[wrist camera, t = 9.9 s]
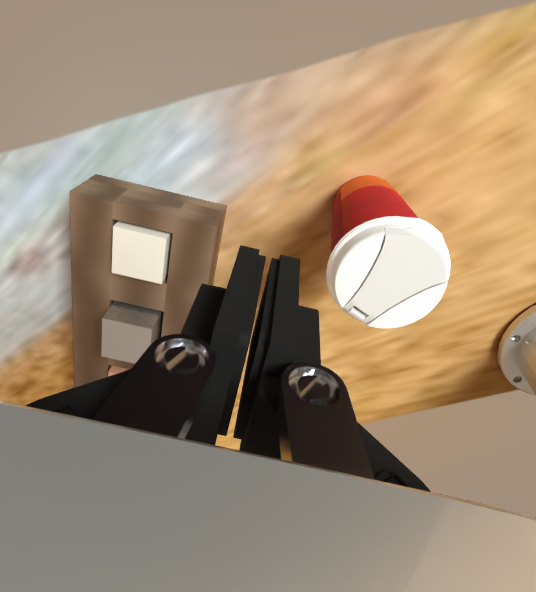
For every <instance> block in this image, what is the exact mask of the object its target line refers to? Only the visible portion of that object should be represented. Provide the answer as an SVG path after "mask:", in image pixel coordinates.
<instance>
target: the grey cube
mask: <svg viewBox="0 0 536 592" xmlns="http://www.w3.org/2000/svg"><path fill="white" fill-rule="evenodd" d="M163 315H164V312H163V311H159V310H154V309H150V308H145V307H141V306H136V305H132V304H128V303H123V302H119V301H114V303H113V304H112V305H111V307H110V308H109V309H108V311H107V312H106V314H105V315H104V316H103V318H102V351H101V356H102V357H107V358H111V359H116V360H120V361H125V362H129V363H134V364H135V363H136V362H137V361H138V360H139V358H140V357H141V356H142V354H143V353H144V352H145V351H146V349H147V348H148V347H149V346H150V345H151V344H152V343H153V342H154V341H155V340H156V339H159V338H161V333H162V324H163Z"/></svg>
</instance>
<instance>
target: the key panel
mask: <svg viewBox="0 0 536 592" xmlns="http://www.w3.org/2000/svg"><path fill="white" fill-rule="evenodd" d="M226 208H227V206H226V205H222V204H218V203H213V202H209V201H205V200H201V199H197V198H193V197H188V196H184V195H180V194H176V193H172V192H168V191H163V190H159V189H155V188H151V187H147V186H143V185H138V184H134V183H130V182H126V181H122V180H118V179H113V178H109V177H105V176H101V175H97V174H96V175H94V176H93V177H91V178H89V179H88V180H86V181H85V182H83V183H82V184H80V185H79V186H77V187H76V188H74V189H73V190H71V191H70V230H71V270H72V311H73V351H74V388H75V387H78V386H81V385H84V384H87V383H90V382H93V381H96V380H99V379H102V378H105V377H108V372H109V370H110V368H111V366H117V367H121V368H126V369H131V368H132V367H133V366H134V365H135V364H134V363H129V362H125V361H120V360H116V359H111V358H107V357H102V356H101V351H102V318H103V316H104V315H105V314H106V312H107V311H108V309H109V308H110V307H111V305H112V304H113V303H114V301H119V302H123V303H128V304H132V305H136V306H141V307H145V308H150V309H154V310H159V311H163V312H164V315H163V324H162V333H161V337H163V336H166V335H172V334H180V333H181V331H182V328H183V326H184V324H185V321H186V319H187V317H188V314H189V312H190V310H191V307H192V305H193V303H194V300H195V298H196V296H197V293H198V291H199V289H200V286H201V284H202V283H203V284H208V285H212V286H213V281H214V276H215V270H216V264H217V259H218V253H219V247H220V242H221V236H222V230H223V225H224V219H225V214H226ZM118 221H123V222H127V223H131V224H135V225H140V226H144V227H148V228H152V229H157V230H161V231H165V232H169V233H173V234H172V243H171V252H170V261H169V270H168V275H167V276H166V278H165V280H164V281H163V283H162V284H159V283H154V282H150V281H145V280H141V279H137V278H132V277H128V276H124V275H119V274H115V273H112V243H113V226H114V225H115V224H116V223H117V222H118Z"/></svg>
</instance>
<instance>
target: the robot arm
mask: <svg viewBox="0 0 536 592" xmlns="http://www.w3.org/2000/svg"><path fill="white" fill-rule="evenodd" d="M265 260H266V257H265V256H261V255H259V250H258V249H254V248H250V247H246V246H240V248H239V252H238V255H237V258H236V261H235V264H234V267H233V270H232V273H231V277H230V280H229V283H228V286H227V289H225V288H221V287H216V286H212V285H208V284H203V283H202V284H201V286H200V289H199V291H198V293H197V296H196V298H195V300H194V303H193V305H192V307H191V310H190V312H189V314H188V317H187V319H186V321H185V324H184V326H183V328H182V331H181V333H180V334H172V335H166V336H163V337H161V338H159V339H156V340H155V341H154V342H153V343H152V344H151V345H150V346H149V347H148V348H147V349H146V351H145V352H144V353H143V354H142V356H141V357H140V358H139V360H138V361H137V362H136V363H135V365H134V366H133V367H132V368H131V369H129V370H126V371H123V372H120V373H117V374H114V375H111V376H108V377H105V378H102V379H99V380H96V381H93V382H90V383H87V384H84V385H81V386H78V387H75V388H72V389H69V390H66V391H63V392H60V393H57V394H54V395H51V396H48V397H45V398H42V399H39V400H37V401H35V402H33V403H30V404H28V405H27V406H23V405H18V404H13V403H8V402H3V401H0V592H536V517H532V516H528V515H524V514H520V513H516V512H512V511H508V510H504V509H500V508H497V507H493V506H489V505H485V504H481V503H477V502H473V501H468V500H463V499H459V498H454V497H450V496H445V495H441V494H437V493H432V492H431V491H430V490H429V489H428V488H427V487H426V486H425V484H424V483H423V482H422V481H421V480H420V479H419V478H418V477H417V476H416V475H415V474H413V473H412V472H411V471H410V470H409V469H408V468H407V467H406V466H405V465H404V464H403V463H401V462H400V461H399V460H398V459H397V458H396V457H395V456H394V455H393V454H392V453H391V452H390V451H388V450H387V449H386V448H385V447H384V446H383V445H382V444H381V443H380V442H379V441H377V440H376V439H375V438H374V437H373V436H372V435H371V434H370V433H369V432H368V431H366V430H365V429H364V428H363V427H362V426H361V425H360V424H359V423H358V422H357V420H356V416H355V413H354V410H353V407H352V403H351V400H350V397H349V394H348V390H347V388H346V386H345V384H344V382H343V380H342V379H341V378H340V377H339V376H338V375H337V374H336V373H335V372H333V371H332V370H330V369H329V368H327V367H324V366H322V365H321V359H320V334H319V312H318V310H316V309H312V308H308V307H303V306H299V305H298V302H299V274H300V259H297V258H292V257H288V256H284V255H280V258H279V260H278V259H274V258H272V260H271V264H270V268H269V272H268V276H267V280H266V284H265V288H264V292H263V296H262V299H261V303H260V307H259V311H258V315H257V319H256V323H255V327H254V331H253V335H252V340H251V344H250V349H249V355H248V360H247V365H246V371H245V376H244V382H243V387H242V392H241V398H240V403H239V409H238V414H237V419H236V425H235V430H234V436H233V438H238V439H241V444H240V451H239V450H234V449H230V448H225V447H220V446H215V443H216V438H217V434H219V435H224V436H226V435H227V431H228V427H229V423H230V419H231V415H232V411H233V407H234V403H235V399H236V395H237V391H238V387H239V383H240V379H241V375H242V371H243V367H244V363H245V359H246V355H247V351H248V347H249V343H250V338H251V333H252V328H253V323H254V318H255V312H256V307H257V302H258V297H259V291H260V286H261V281H262V275H263V270H264V265H265ZM498 363H499V365H500V368H501V370H502V372H503V374H504V375H505V377H506V379H507V380H508V381H509V382H510V383H511V384H512V385H513V386H515V387H516V388H518V389H519V390H522V391H524V392H526V393H529V394H533V395H536V305H534V306H532V307H531V308H529V309H528V310H526V311H525V312H524V313H522V314H521V315H519V316H518V317H517V318H516V319H515V320H514V321H513V322H512V323H511V324H510V326H509V327H508V328H507V330H506V331H505V333H504V334H503V336H502V339H501V341H500V343H499V348H498Z"/></svg>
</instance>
